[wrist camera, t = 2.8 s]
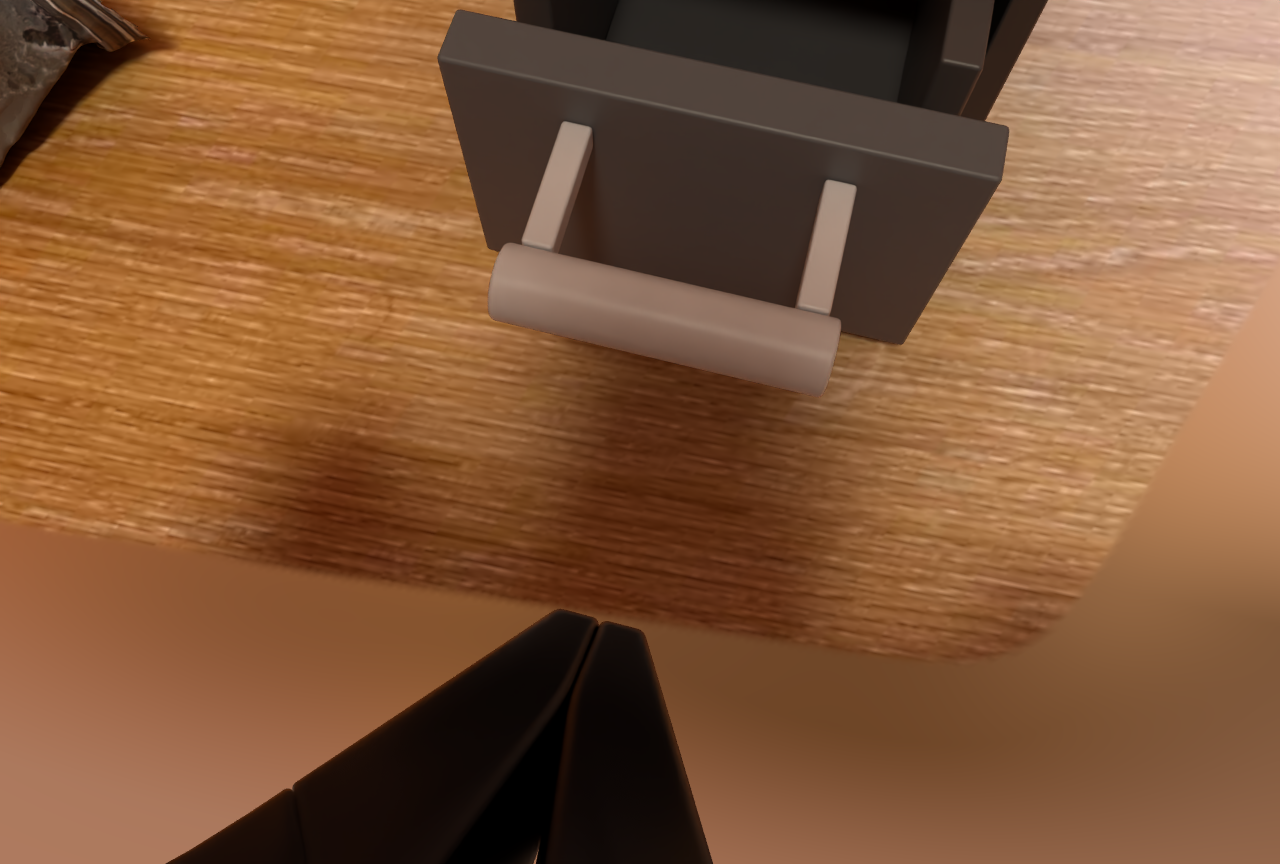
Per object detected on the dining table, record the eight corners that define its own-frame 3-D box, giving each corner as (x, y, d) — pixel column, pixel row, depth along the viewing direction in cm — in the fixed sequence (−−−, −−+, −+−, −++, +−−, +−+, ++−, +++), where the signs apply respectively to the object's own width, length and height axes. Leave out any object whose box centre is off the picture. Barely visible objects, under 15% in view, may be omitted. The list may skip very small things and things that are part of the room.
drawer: (872, 510, 22) (969, 396, 16) (432, 402, 23) (356, 251, 16) (970, -22, 27) (1072, -269, 21) (609, -94, 28) (602, -354, 22)
